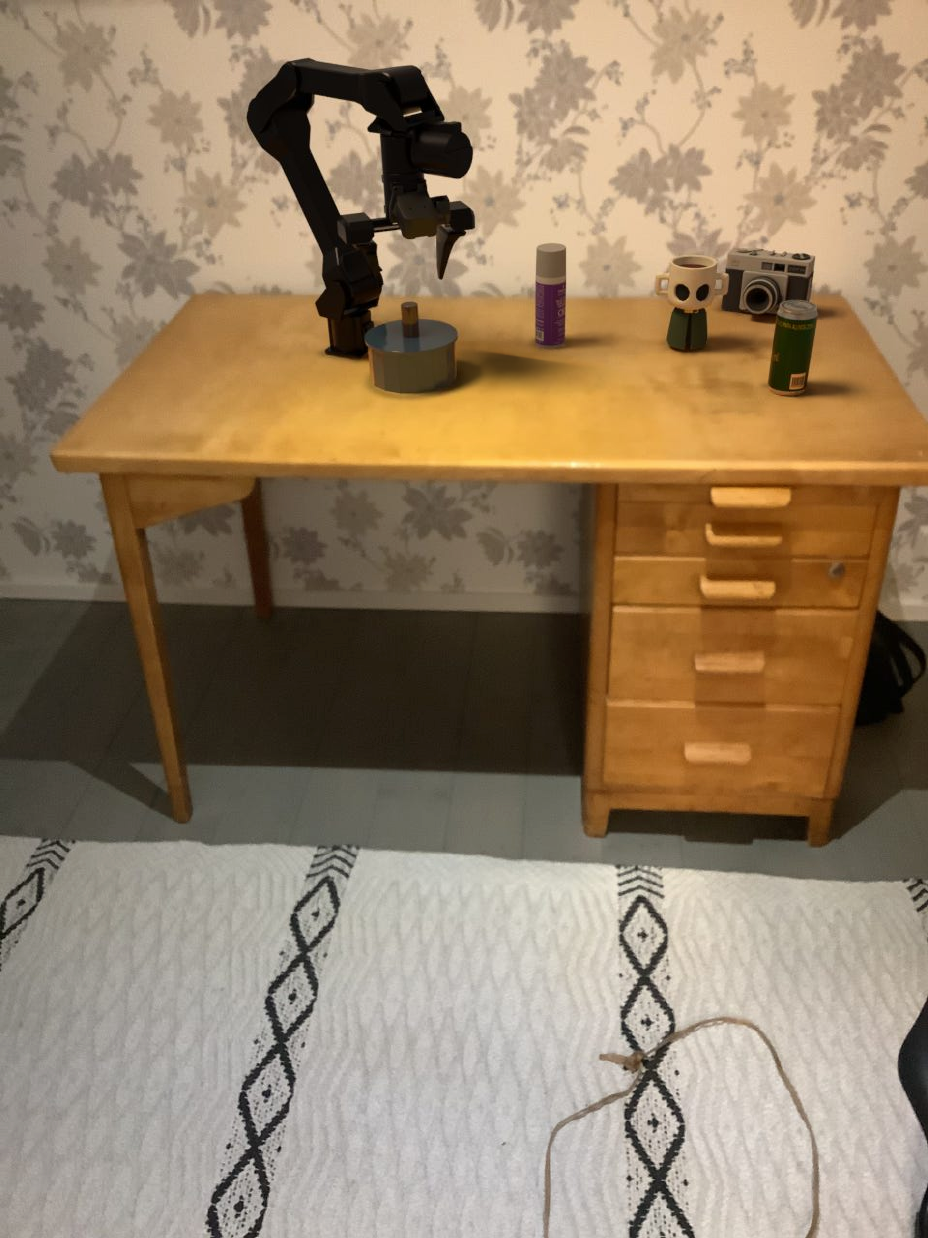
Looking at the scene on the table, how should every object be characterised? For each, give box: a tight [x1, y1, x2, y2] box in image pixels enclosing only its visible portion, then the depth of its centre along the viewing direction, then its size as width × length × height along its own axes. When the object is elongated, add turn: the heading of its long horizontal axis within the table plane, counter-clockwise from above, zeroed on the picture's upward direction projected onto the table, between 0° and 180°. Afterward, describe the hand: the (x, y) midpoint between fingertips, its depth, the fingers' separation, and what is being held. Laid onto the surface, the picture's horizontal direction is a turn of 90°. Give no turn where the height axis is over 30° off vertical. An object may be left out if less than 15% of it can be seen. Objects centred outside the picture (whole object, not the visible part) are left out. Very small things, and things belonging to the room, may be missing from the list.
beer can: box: [767, 300, 819, 397], centre depth 151 cm, size 5×5×12 cm
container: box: [534, 242, 567, 350], centre depth 168 cm, size 5×5×15 cm
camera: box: [721, 247, 816, 318], centre depth 177 cm, size 14×9×10 cm, turn 55°
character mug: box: [653, 254, 729, 350], centre depth 166 cm, size 11×7×13 cm, turn 84°
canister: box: [367, 341, 458, 395], centre depth 160 cm, size 13×13×6 cm
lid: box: [364, 301, 459, 355], centre depth 157 cm, size 14×14×6 cm
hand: (410, 283), depth 158 cm, fingers open, 9 cm apart
